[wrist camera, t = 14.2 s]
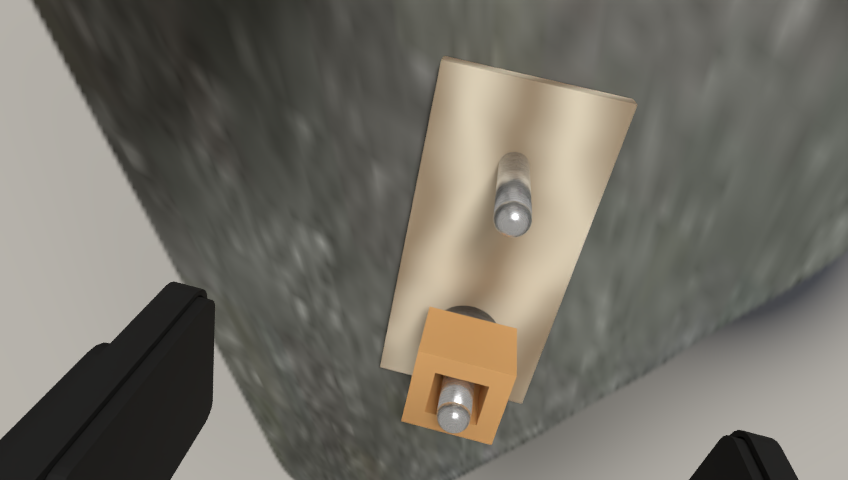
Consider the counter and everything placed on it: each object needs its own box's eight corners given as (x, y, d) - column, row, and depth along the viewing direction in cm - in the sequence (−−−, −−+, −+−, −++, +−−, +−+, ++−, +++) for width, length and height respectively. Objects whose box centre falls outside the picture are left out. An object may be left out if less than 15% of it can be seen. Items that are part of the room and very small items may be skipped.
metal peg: (426, 350, 43) (403, 445, 35) (439, 298, 40) (418, 387, 32) (489, 366, 43) (482, 466, 34) (507, 315, 40) (503, 409, 32)
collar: (429, 306, 39) (418, 351, 34) (517, 328, 38) (516, 376, 34) (413, 372, 42) (401, 421, 37) (494, 393, 41) (491, 444, 37)
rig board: (383, 355, 46) (380, 367, 45) (444, 55, 34) (441, 59, 33) (521, 390, 45) (521, 403, 44) (632, 98, 33) (637, 104, 32)
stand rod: (494, 177, 35) (488, 239, 28) (502, 148, 34) (498, 204, 27) (524, 184, 35) (526, 248, 27) (533, 155, 34) (537, 214, 26)
